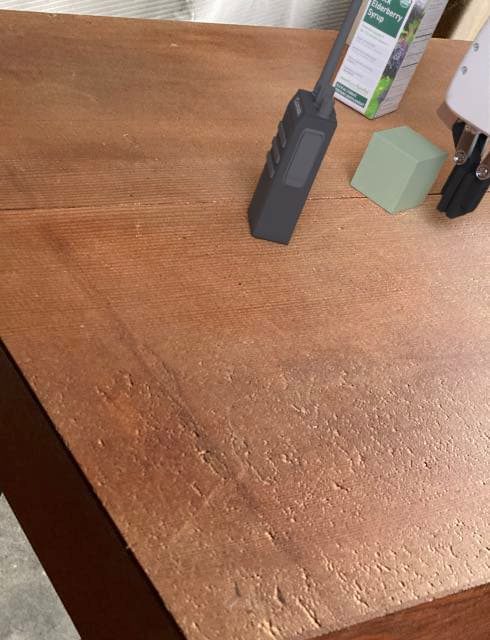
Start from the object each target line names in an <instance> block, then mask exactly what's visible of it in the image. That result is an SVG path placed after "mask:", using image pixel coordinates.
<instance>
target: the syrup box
mask: <svg viewBox="0 0 490 640" xmlns="http://www.w3.org/2000/svg"><path fill="white" fill-rule="evenodd" d="M448 3H449V0H368V3H367V5H366V8H365V10H364V12H363V15H362V17H361V20H360V22H359V25H358V27H357V29H356V32H355V34H354V37H353V39H352V41H351V44H350V46H348V49H347V51H346V53H345V55H344V58H343V60H342V63H341V65H340V66H339V69H338V70H337V73H336V75H335V77H334V79H333V82H332V84H331V85H332V86H333V87H335V89H336V91H335V93H334V96H333V98H332V99H336V100H338V101H340V102H341V103H342V104H345V105H346V106H348V107H350V108H351V109H353V110H354V111H356V112H357V113H359V114H361V115H363V116H364V117H366V118H368V119H369V120H374V119H377V118H379V117H382V116H385V115H387V114H389V113H391V112H395V111H396V110H397V109H398V107H399V105H400V103H401V101H402V99H403V96H404V95H405V92H406V90H407V88H408V86H409V84H410V82H411V80H412V78H413V76H414V74H415V71H416V70H417V67H418V65H419V63H420V61H421V60H422V57H423V55H424V53H425V51H426V49H427V46H428V45H429V42H430V40H431V38H432V37H433V34H434V32H435V30H436V28H437V26H438V24H439V22H440V19H441V17H442V15H443V13H444V11H445V9H446V7H447V4H448Z"/></svg>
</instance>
